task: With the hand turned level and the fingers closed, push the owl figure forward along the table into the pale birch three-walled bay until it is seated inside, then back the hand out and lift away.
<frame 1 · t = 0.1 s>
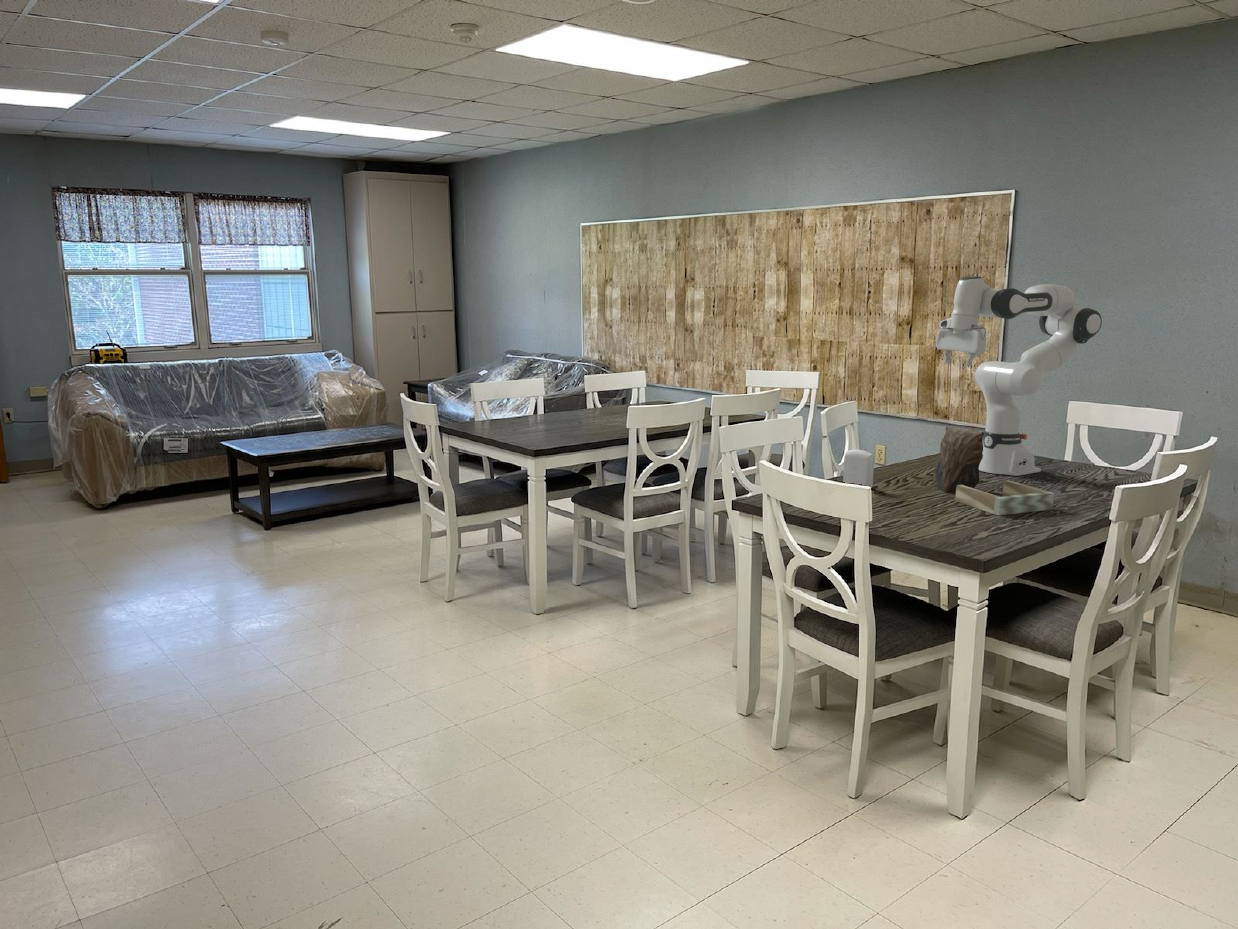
hand: (957, 364, 307), 39 cm above the table, tool pointing down, fingers open, 8 cm apart
bay: (1000, 504, 276), on the table
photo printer: (857, 487, 296), on the table
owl: (952, 489, 295), on the table
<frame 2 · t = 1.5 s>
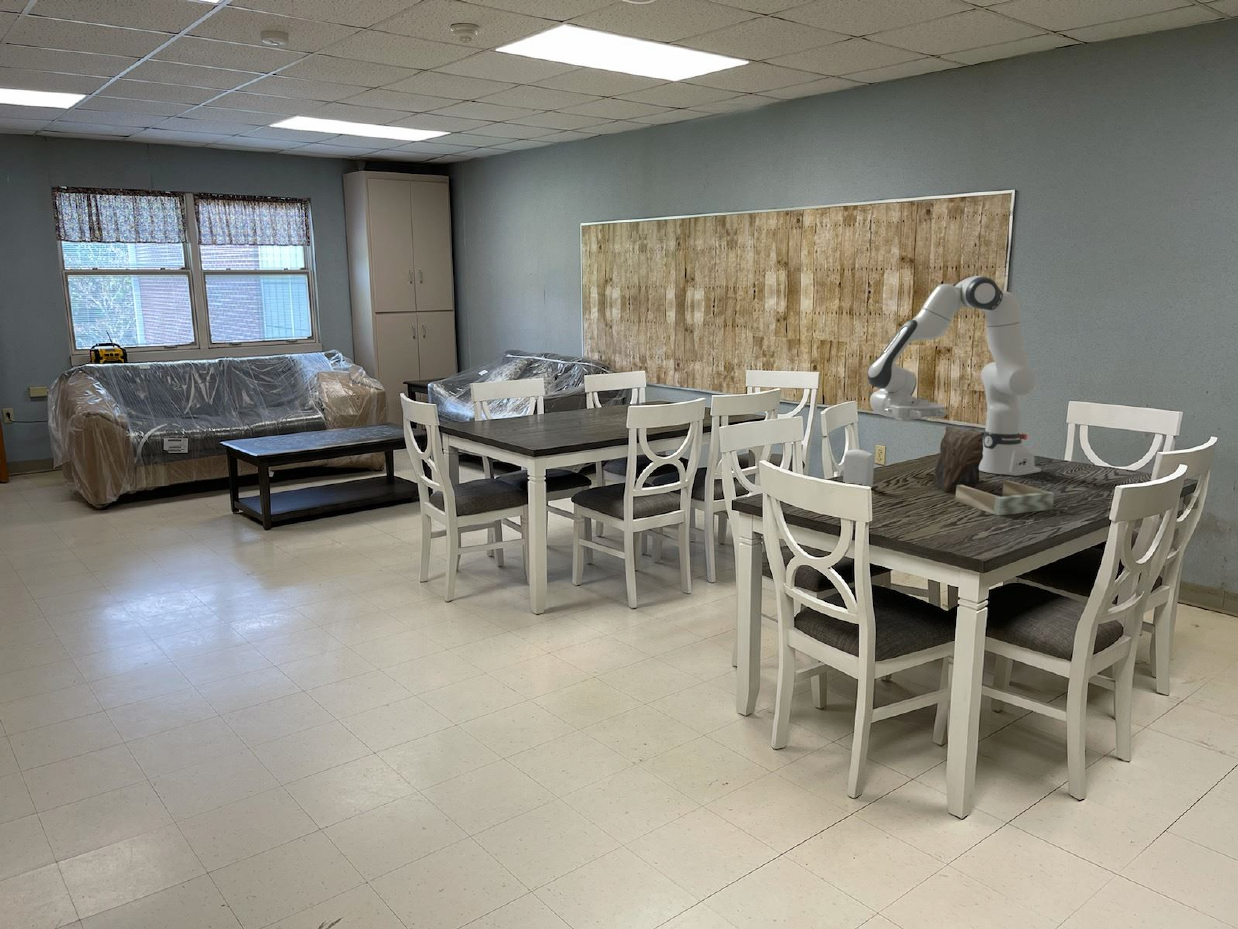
hand: (933, 414, 301), 23 cm above the table, tool horizontal, fingers open, 8 cm apart
nothing on the table moved.
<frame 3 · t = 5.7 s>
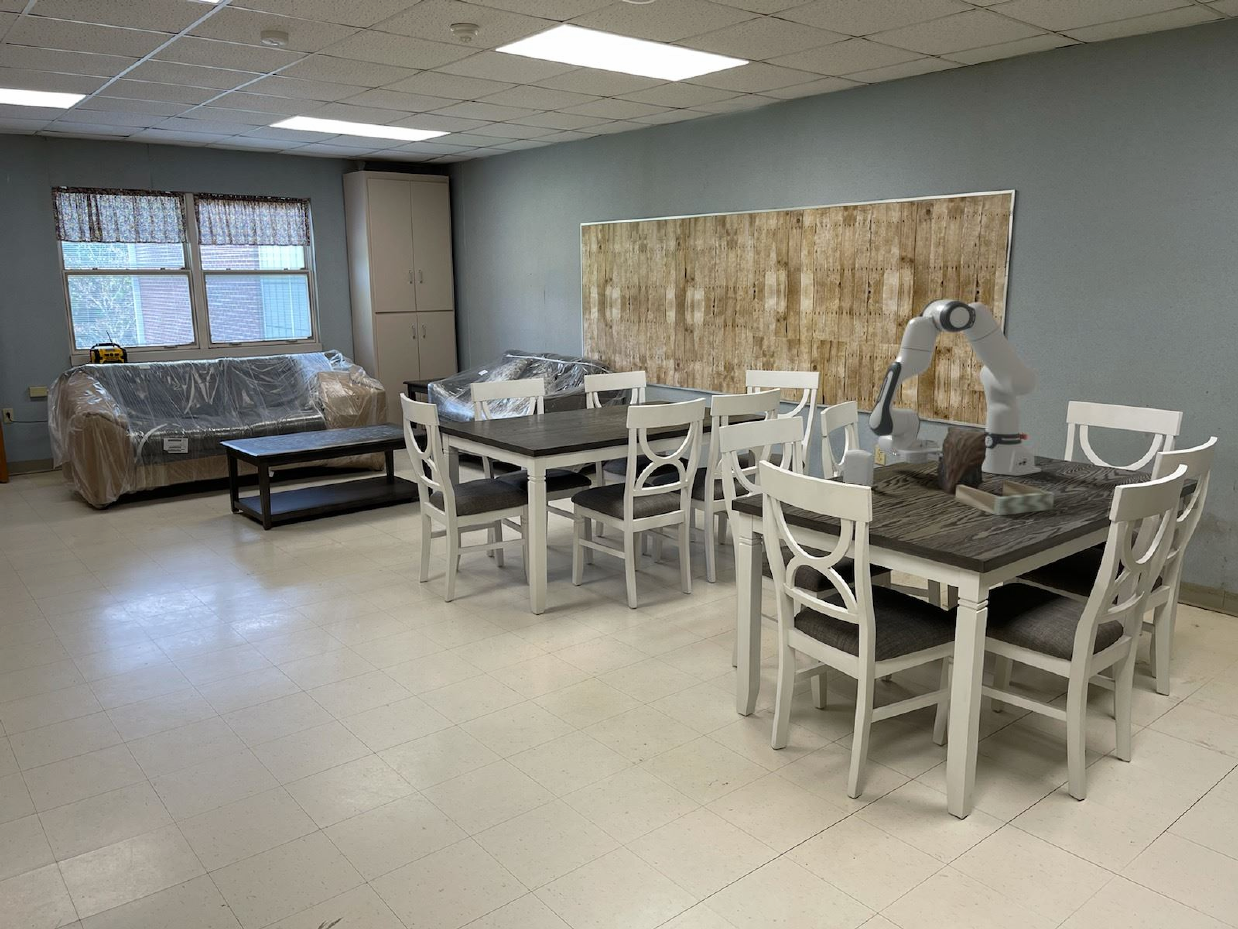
hand: (941, 458, 298), 9 cm above the table, tool horizontal, fingers closed
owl: (954, 490, 294), on the table, touching gripper
everything else where it was.
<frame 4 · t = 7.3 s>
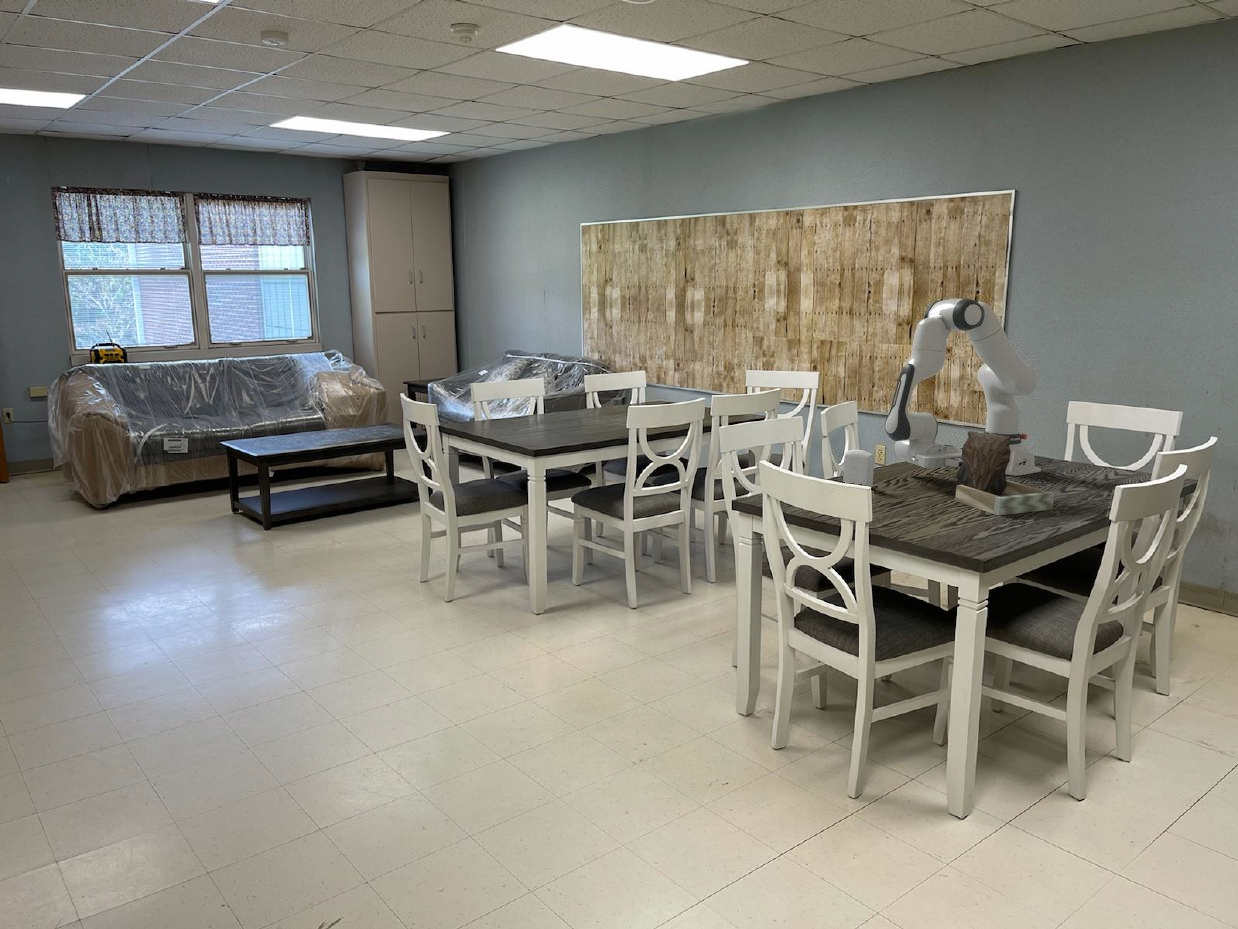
hand: (961, 464, 290), 9 cm above the table, tool horizontal, fingers closed, pressing on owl
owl: (978, 496, 286), on the table, touching gripper
everything else where it was.
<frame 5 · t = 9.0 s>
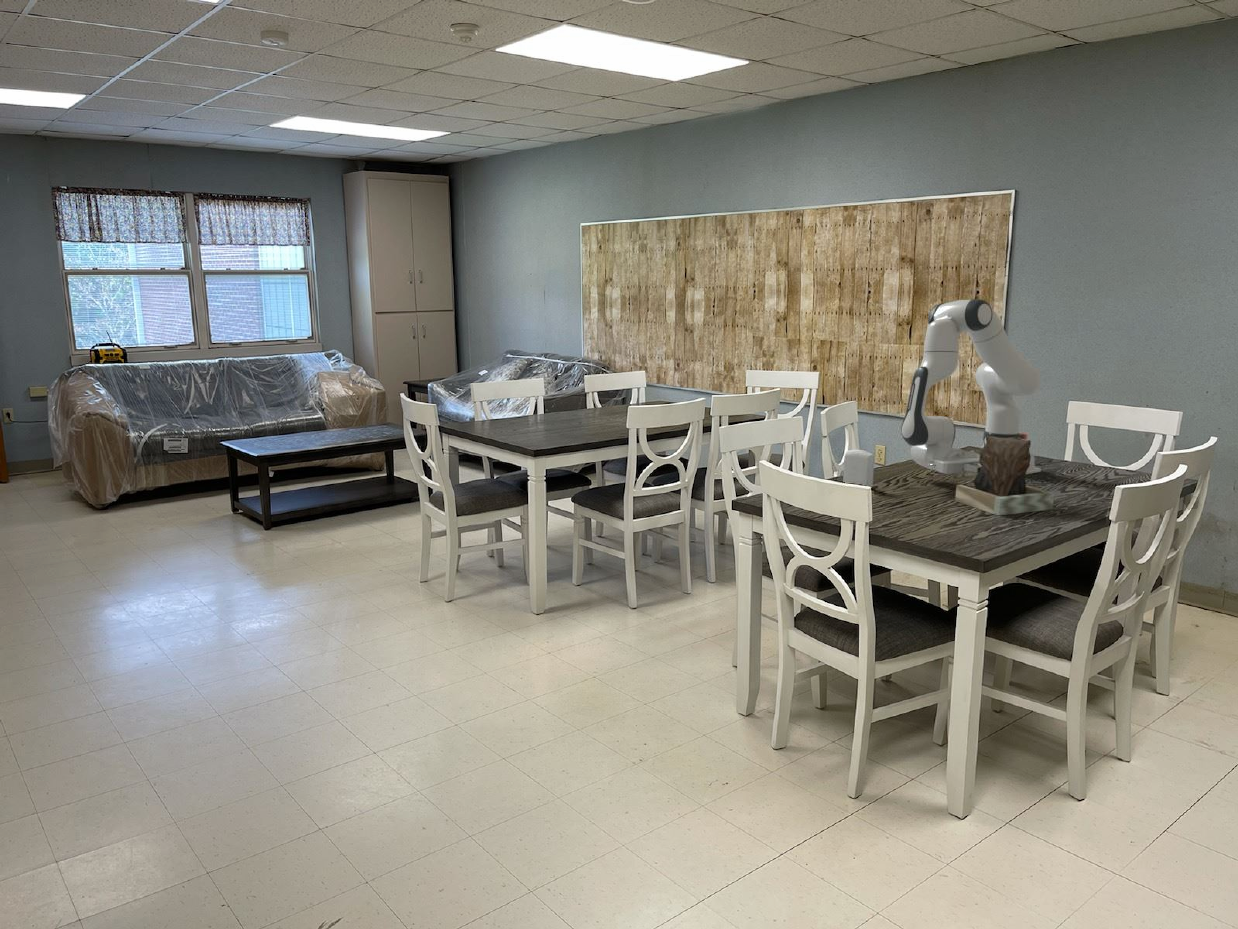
hand: (980, 469, 282), 9 cm above the table, tool horizontal, fingers closed
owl: (997, 502, 278), on the table, touching gripper
everything else where it was.
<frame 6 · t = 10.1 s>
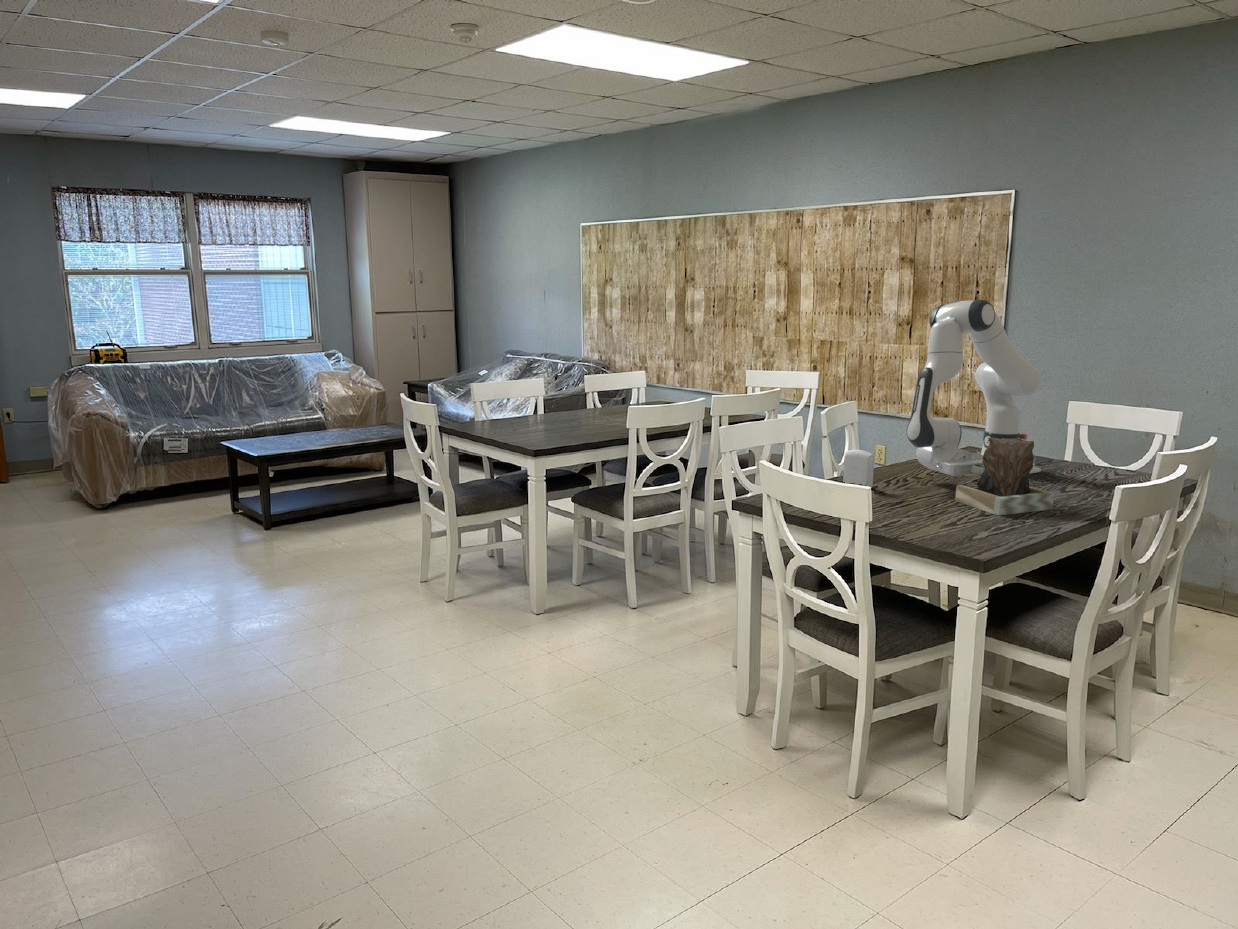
hand: (987, 471, 279), 9 cm above the table, tool horizontal, fingers closed
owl: (1002, 504, 276), on the table, touching bay, gripper
everything else where it was.
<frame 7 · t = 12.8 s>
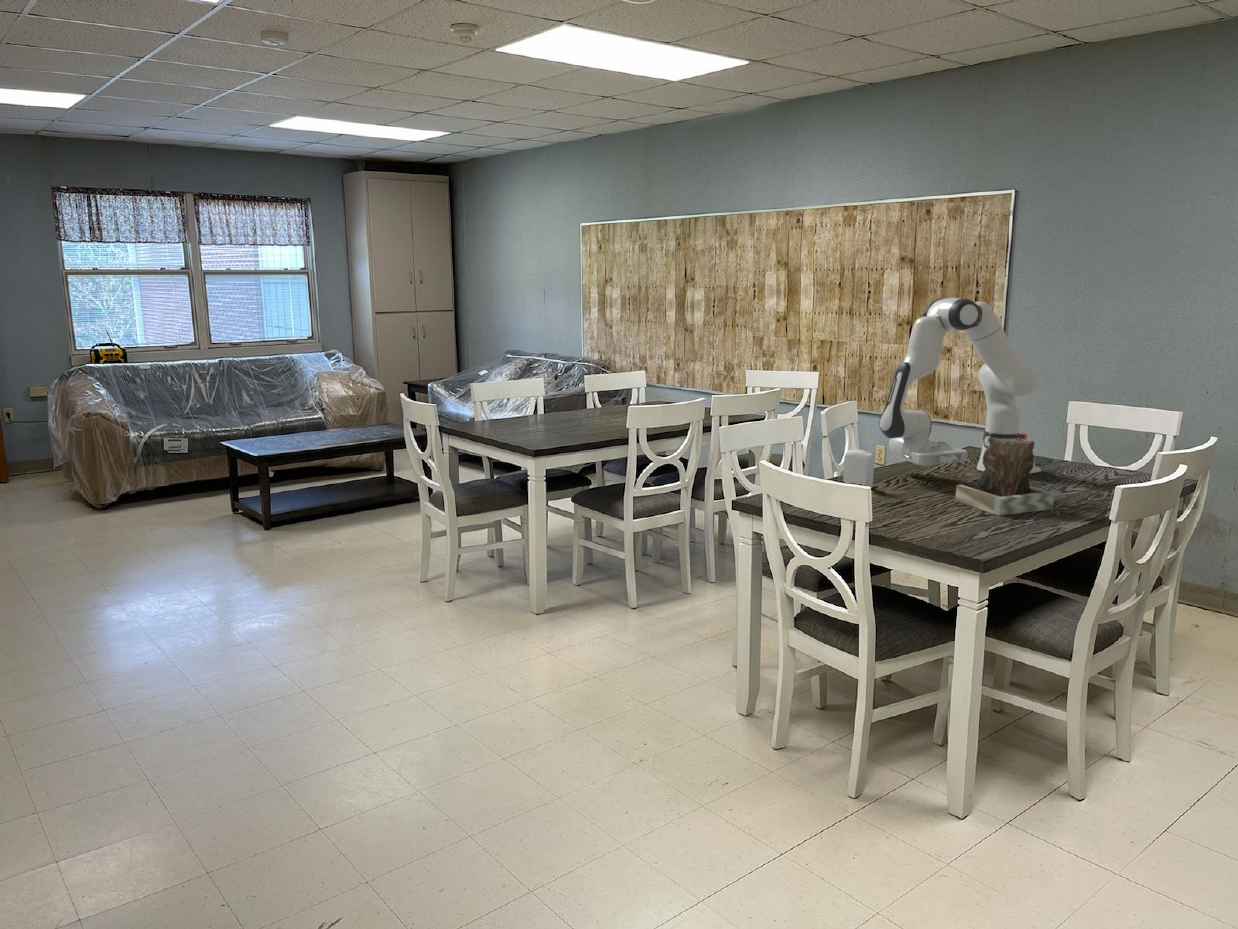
hand: (955, 461, 293), 9 cm above the table, tool horizontal, fingers closed
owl: (1002, 504, 276), on the table
everything else where it was.
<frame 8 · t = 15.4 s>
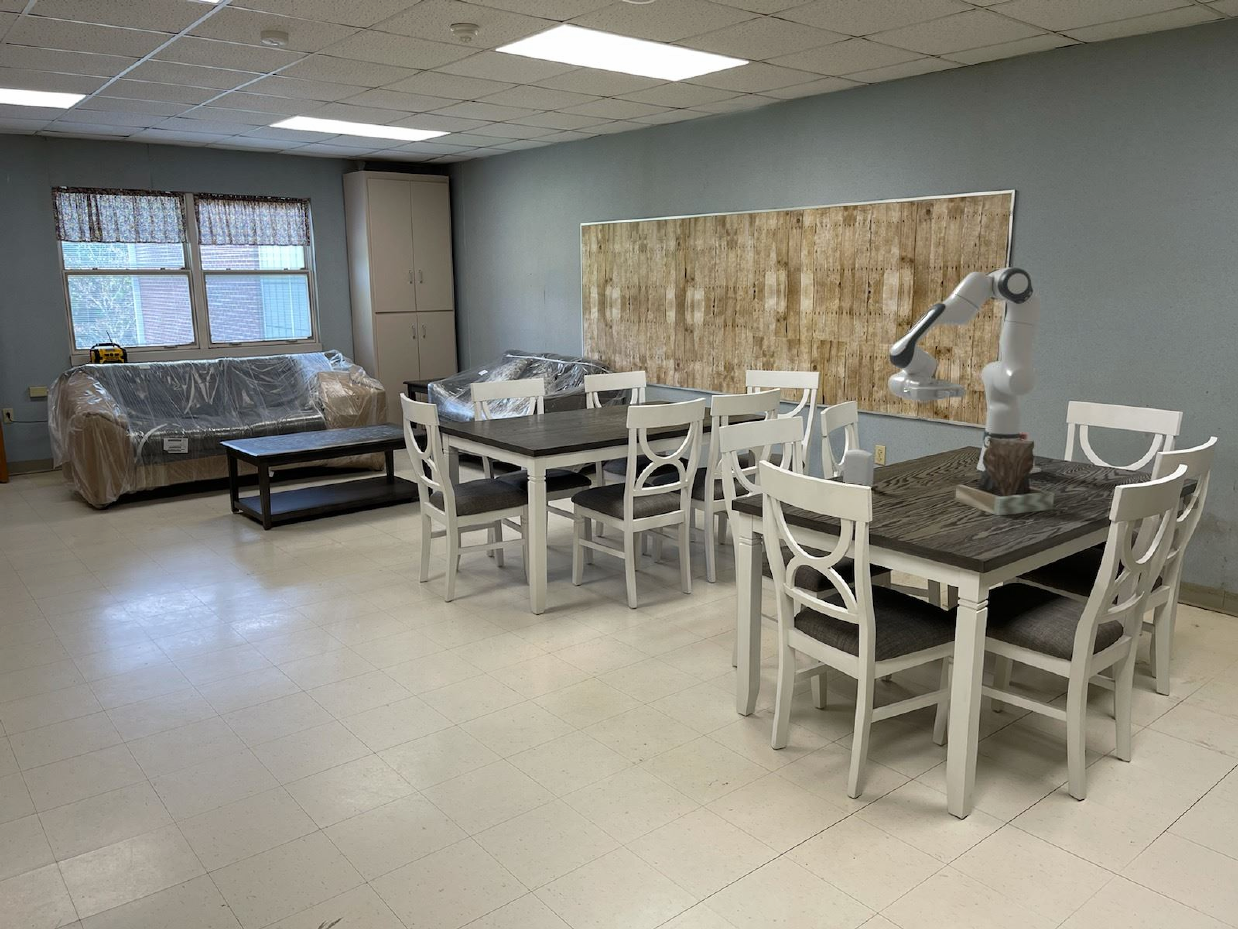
hand: (952, 394, 297), 30 cm above the table, tool horizontal, fingers closed
nothing on the table moved.
at the end: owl inside the target area on the bay (0.8 cm from its centre), point 0.0 cm above the bay's base; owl tilted 0°; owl moved 21.0 cm from its start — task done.
